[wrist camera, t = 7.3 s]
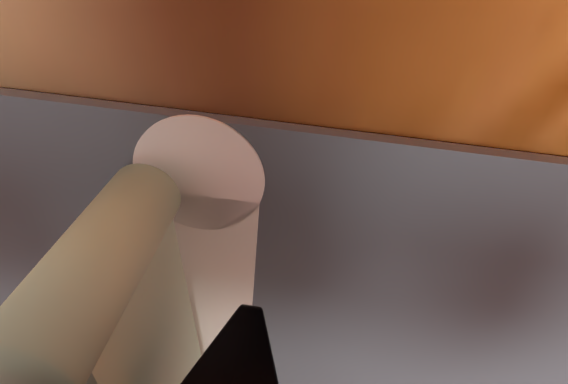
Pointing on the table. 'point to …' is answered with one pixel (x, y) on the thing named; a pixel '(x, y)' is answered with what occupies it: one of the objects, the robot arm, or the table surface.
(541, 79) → the table surface
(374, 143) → the card
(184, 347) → the swinging fence panel
